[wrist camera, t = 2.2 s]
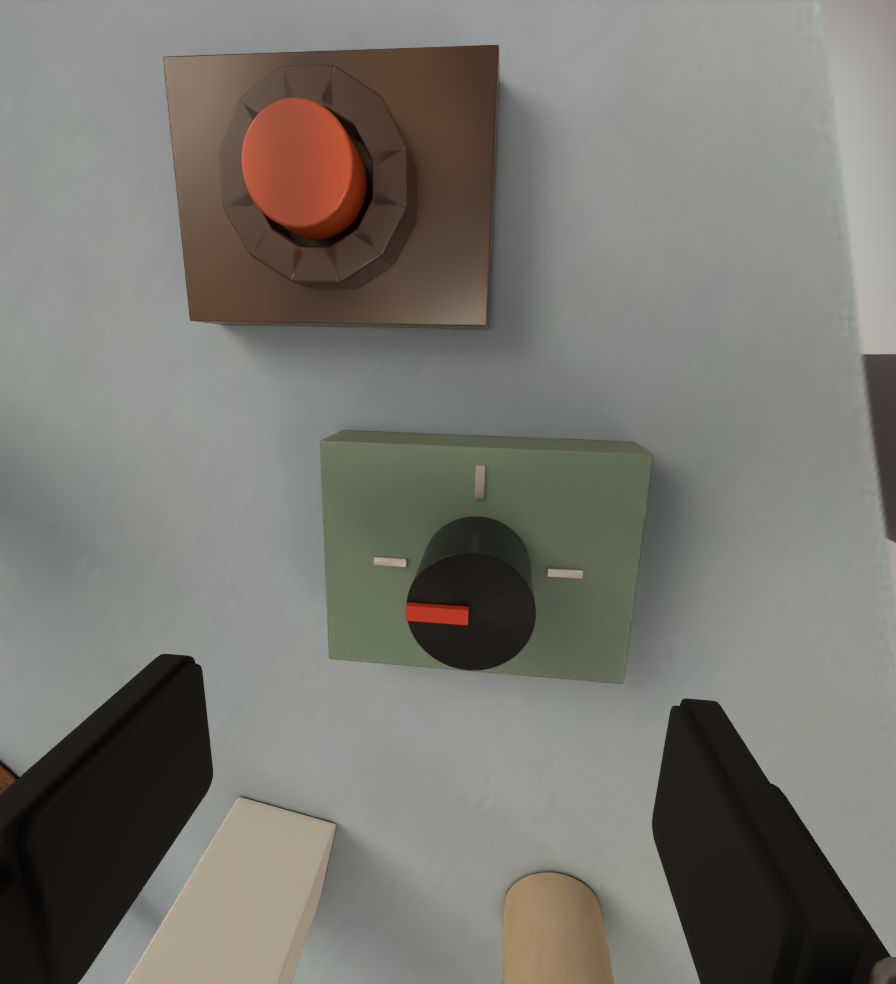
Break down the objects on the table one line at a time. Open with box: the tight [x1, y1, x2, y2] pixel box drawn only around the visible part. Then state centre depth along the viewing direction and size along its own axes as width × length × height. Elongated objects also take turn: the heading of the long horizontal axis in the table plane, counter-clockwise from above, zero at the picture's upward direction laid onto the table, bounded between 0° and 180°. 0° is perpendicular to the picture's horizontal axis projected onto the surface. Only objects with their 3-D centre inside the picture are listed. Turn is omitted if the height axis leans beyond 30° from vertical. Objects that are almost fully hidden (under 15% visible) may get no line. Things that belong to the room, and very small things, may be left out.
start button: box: [241, 97, 367, 239], centre depth 16 cm, size 4×4×2 cm
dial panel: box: [320, 430, 653, 684], centre depth 22 cm, size 13×10×3 cm
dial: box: [405, 516, 536, 671], centre depth 19 cm, size 4×4×4 cm
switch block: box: [163, 45, 499, 329], centre depth 19 cm, size 12×9×4 cm
